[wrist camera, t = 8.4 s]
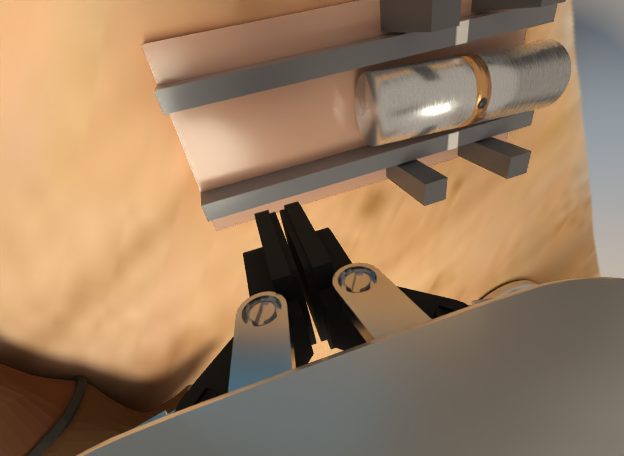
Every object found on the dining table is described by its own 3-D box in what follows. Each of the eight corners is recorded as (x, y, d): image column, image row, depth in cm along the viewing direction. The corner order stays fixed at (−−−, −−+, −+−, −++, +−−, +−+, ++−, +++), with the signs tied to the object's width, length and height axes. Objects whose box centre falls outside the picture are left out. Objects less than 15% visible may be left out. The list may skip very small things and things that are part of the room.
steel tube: (525, 33, 23) (586, 47, 19) (505, 97, 26) (555, 119, 22) (355, 63, 20) (391, 84, 17) (353, 130, 23) (384, 160, 20)
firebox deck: (497, 139, 28) (562, 163, 23) (215, 224, 24) (221, 275, 19) (525, -34, 22) (625, -52, 17) (143, 43, 18) (123, 49, 13)
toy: (-6, 294, 17) (323, 475, 31) (70, 222, 25) (300, 389, 39) (-305, 554, 18) (137, 613, 32) (-139, 403, 27) (154, 502, 41)
